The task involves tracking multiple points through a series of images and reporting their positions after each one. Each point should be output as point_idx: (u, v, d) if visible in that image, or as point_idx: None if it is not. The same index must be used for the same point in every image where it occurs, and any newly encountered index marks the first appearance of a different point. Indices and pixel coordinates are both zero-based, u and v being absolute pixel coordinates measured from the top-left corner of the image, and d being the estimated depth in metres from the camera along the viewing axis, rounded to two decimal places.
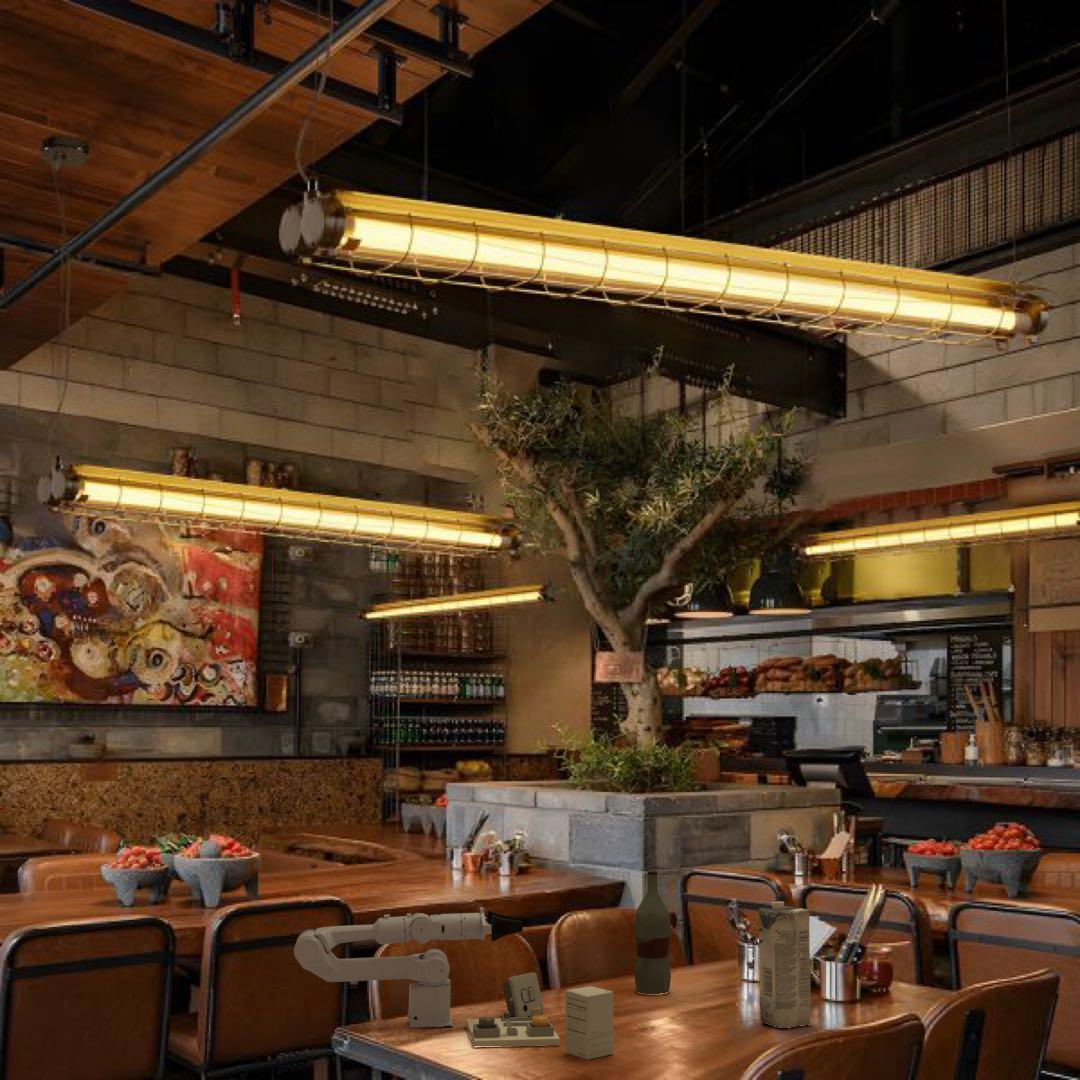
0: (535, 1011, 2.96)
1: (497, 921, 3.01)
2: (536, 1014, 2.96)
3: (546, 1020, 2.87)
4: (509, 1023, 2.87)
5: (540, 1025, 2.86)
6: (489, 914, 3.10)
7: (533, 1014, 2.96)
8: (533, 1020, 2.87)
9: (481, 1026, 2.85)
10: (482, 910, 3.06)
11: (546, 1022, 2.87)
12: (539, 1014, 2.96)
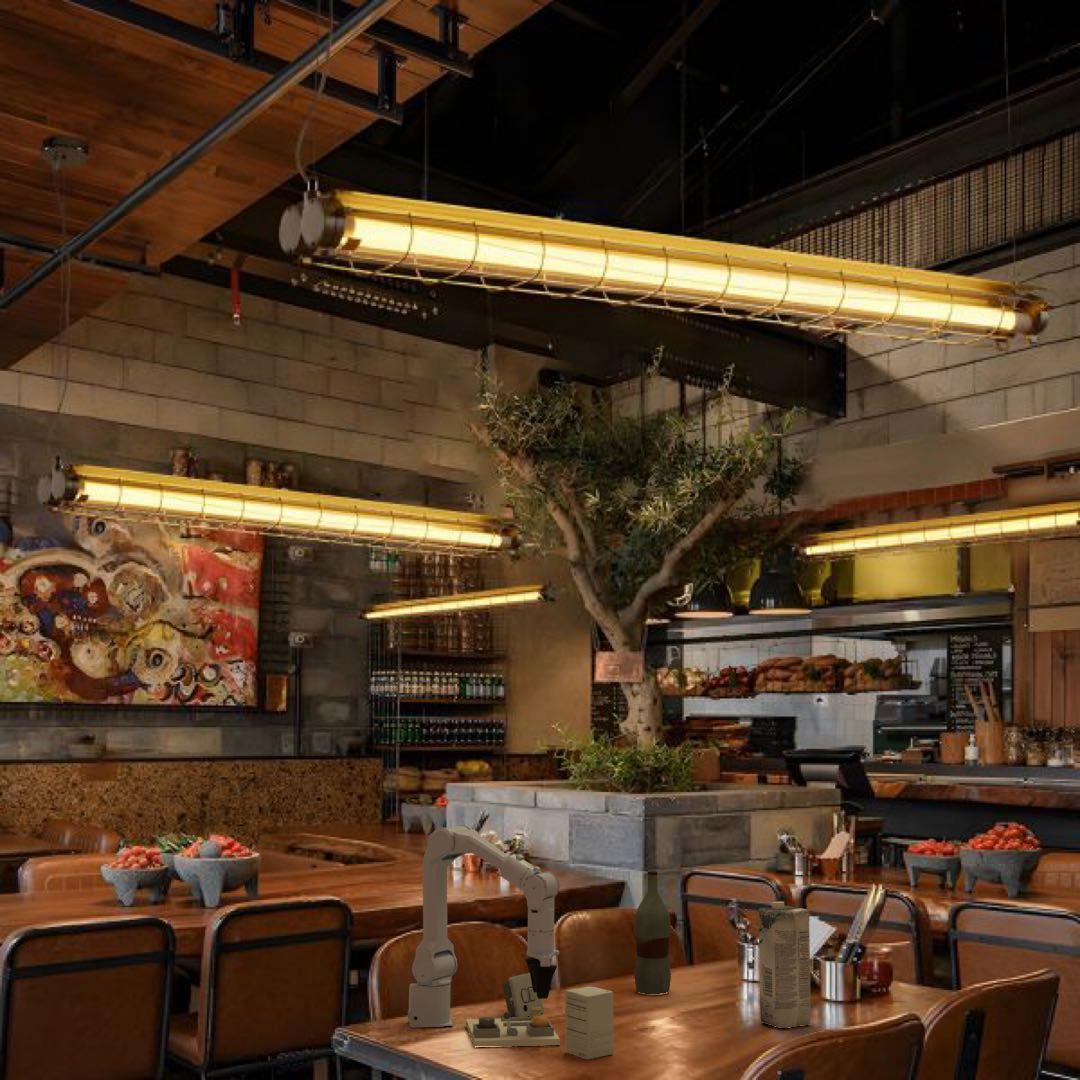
0: (535, 1011, 2.96)
1: (551, 971, 2.85)
2: (536, 1014, 2.96)
3: (546, 1020, 2.87)
4: (509, 1023, 2.87)
5: (540, 1025, 2.86)
6: None
7: (533, 1014, 2.96)
8: (533, 1020, 2.87)
9: (481, 1026, 2.85)
10: (557, 953, 2.89)
11: (546, 1022, 2.87)
12: (539, 1014, 2.96)
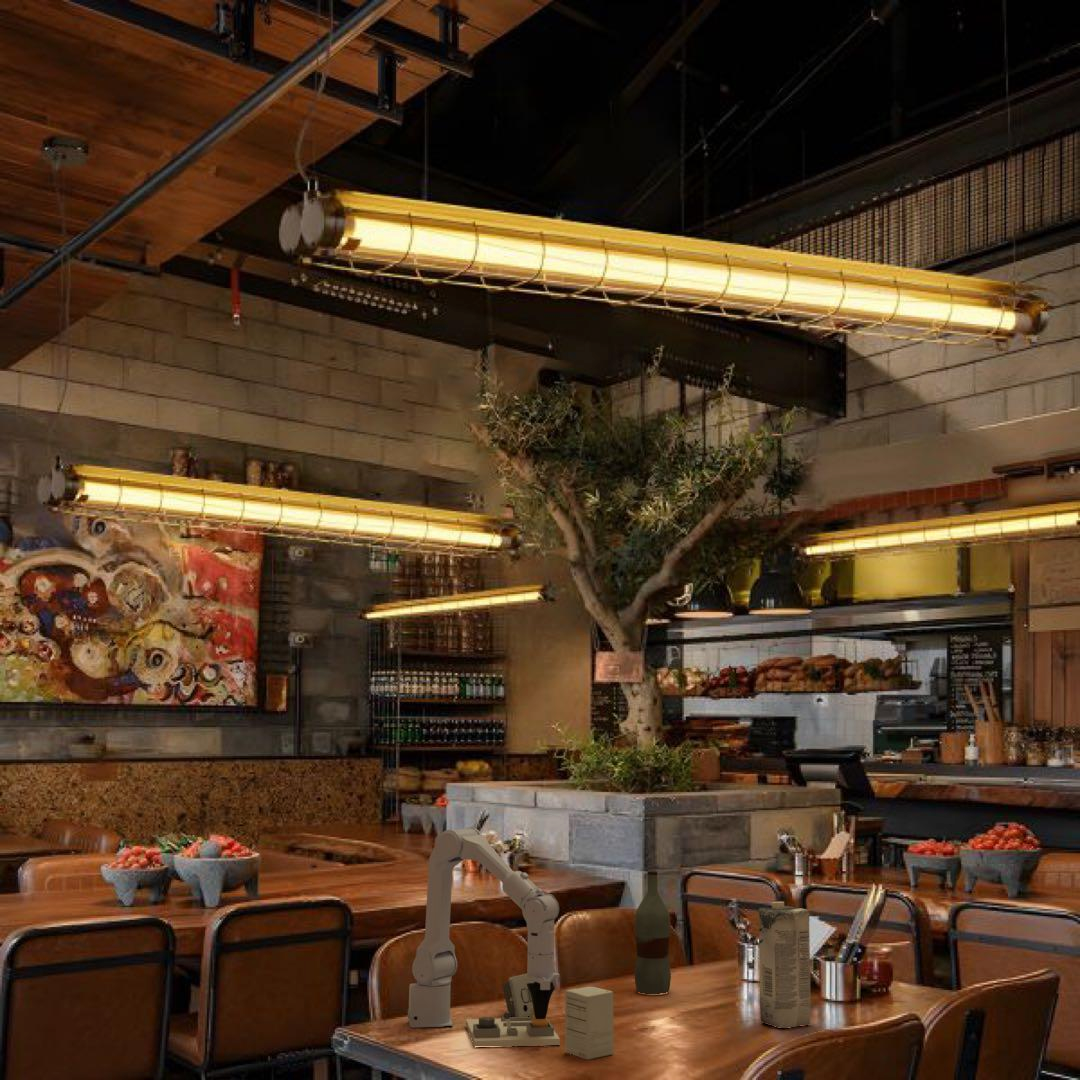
0: None
1: (549, 992, 2.87)
2: None
3: (546, 1021, 2.87)
4: (509, 1023, 2.87)
5: (540, 1026, 2.86)
6: (549, 985, 2.89)
7: (533, 1014, 2.96)
8: (533, 1021, 2.87)
9: (481, 1026, 2.85)
10: (557, 976, 2.89)
11: (546, 1023, 2.87)
12: None
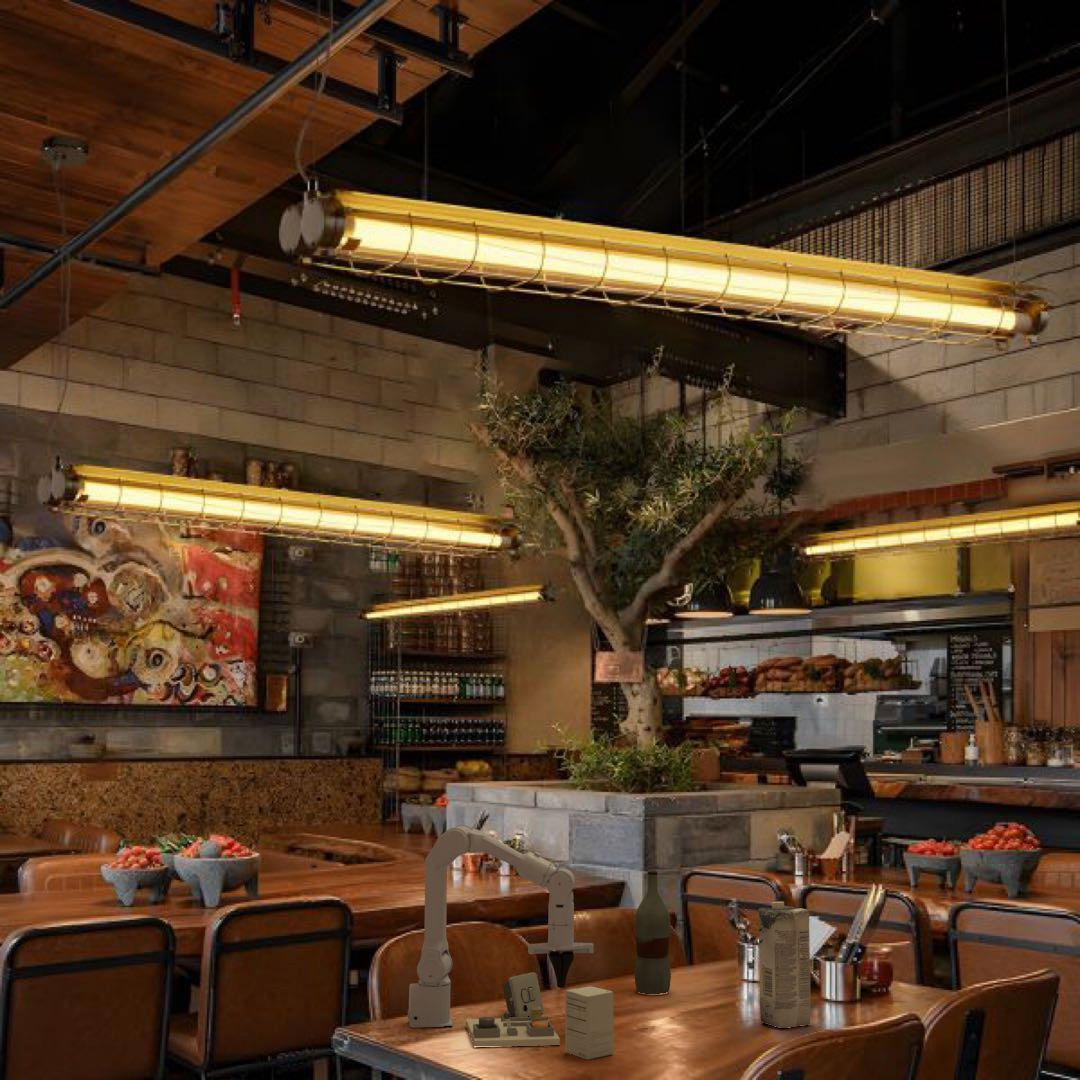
0: (535, 1011, 2.96)
1: (552, 961, 2.98)
2: (536, 1014, 2.96)
3: (546, 1025, 2.87)
4: (509, 1023, 2.87)
5: None
6: (563, 956, 2.98)
7: (533, 1014, 2.96)
8: (533, 1025, 2.87)
9: (481, 1026, 2.85)
10: (558, 948, 2.97)
11: None
12: (539, 1014, 2.96)
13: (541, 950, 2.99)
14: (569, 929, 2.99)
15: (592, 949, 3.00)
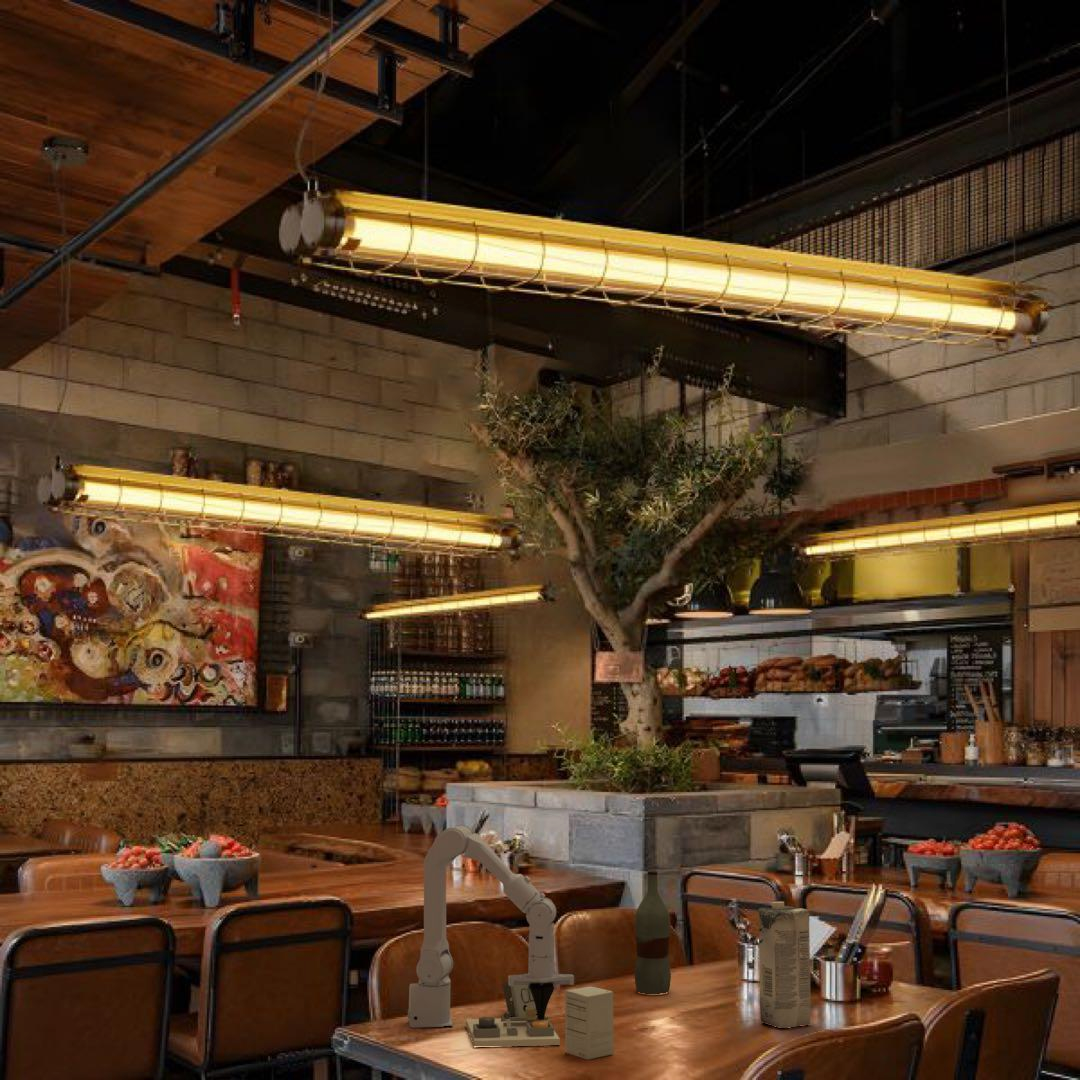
0: (530, 1011, 2.96)
1: (532, 993, 2.97)
2: (531, 1014, 2.96)
3: (546, 1025, 2.87)
4: (509, 1023, 2.87)
5: None
6: (543, 988, 2.97)
7: (528, 1014, 2.96)
8: (533, 1025, 2.87)
9: (481, 1026, 2.85)
10: (538, 980, 2.95)
11: None
12: (534, 1014, 2.96)
13: (521, 982, 2.98)
14: (549, 961, 2.97)
15: (572, 981, 2.99)
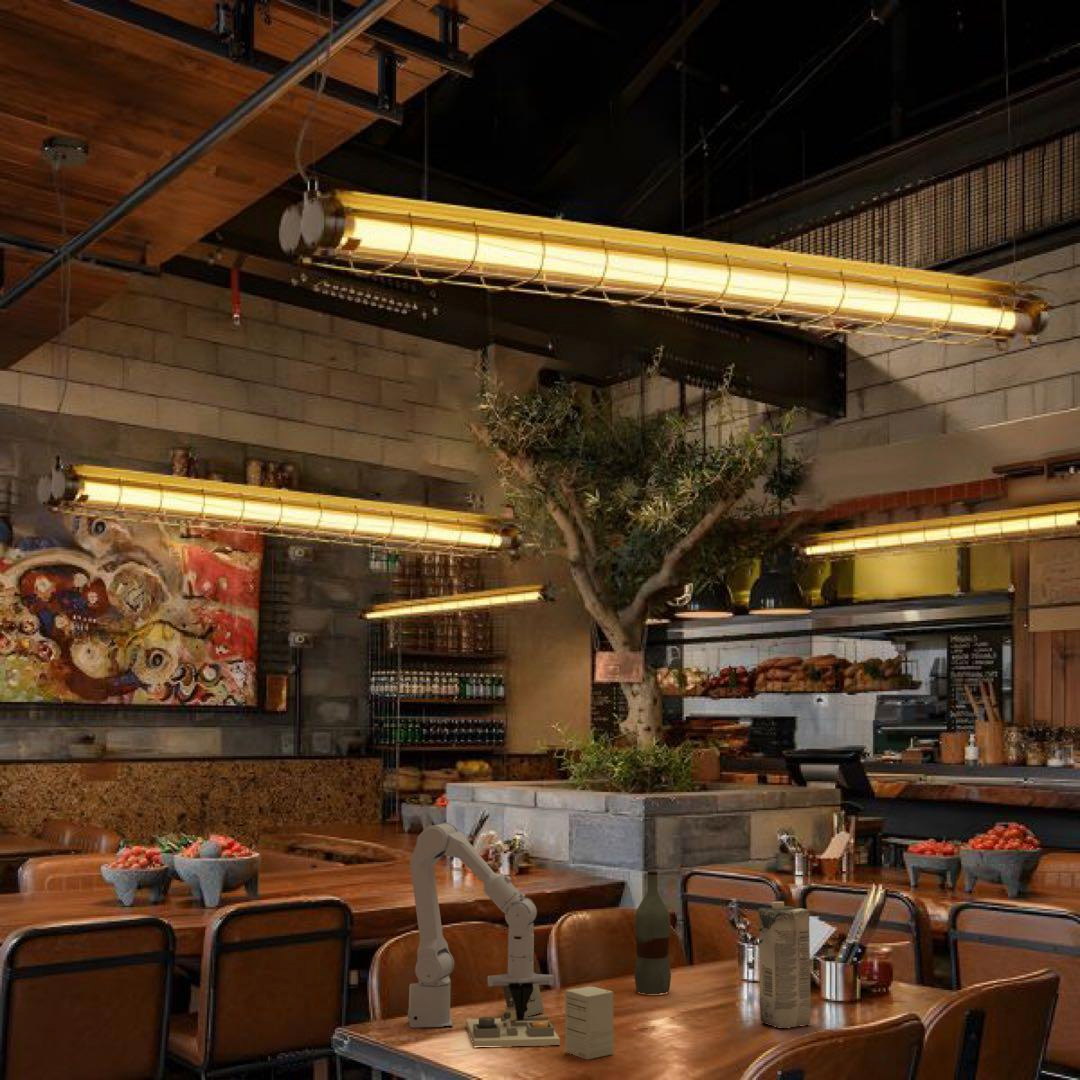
0: None
1: (511, 993, 2.96)
2: None
3: (546, 1025, 2.87)
4: (509, 1023, 2.87)
5: None
6: (522, 988, 2.96)
7: None
8: (533, 1025, 2.87)
9: (481, 1026, 2.85)
10: (518, 981, 2.95)
11: None
12: (513, 1015, 2.96)
13: (500, 982, 2.97)
14: (529, 961, 2.97)
15: (552, 981, 2.98)
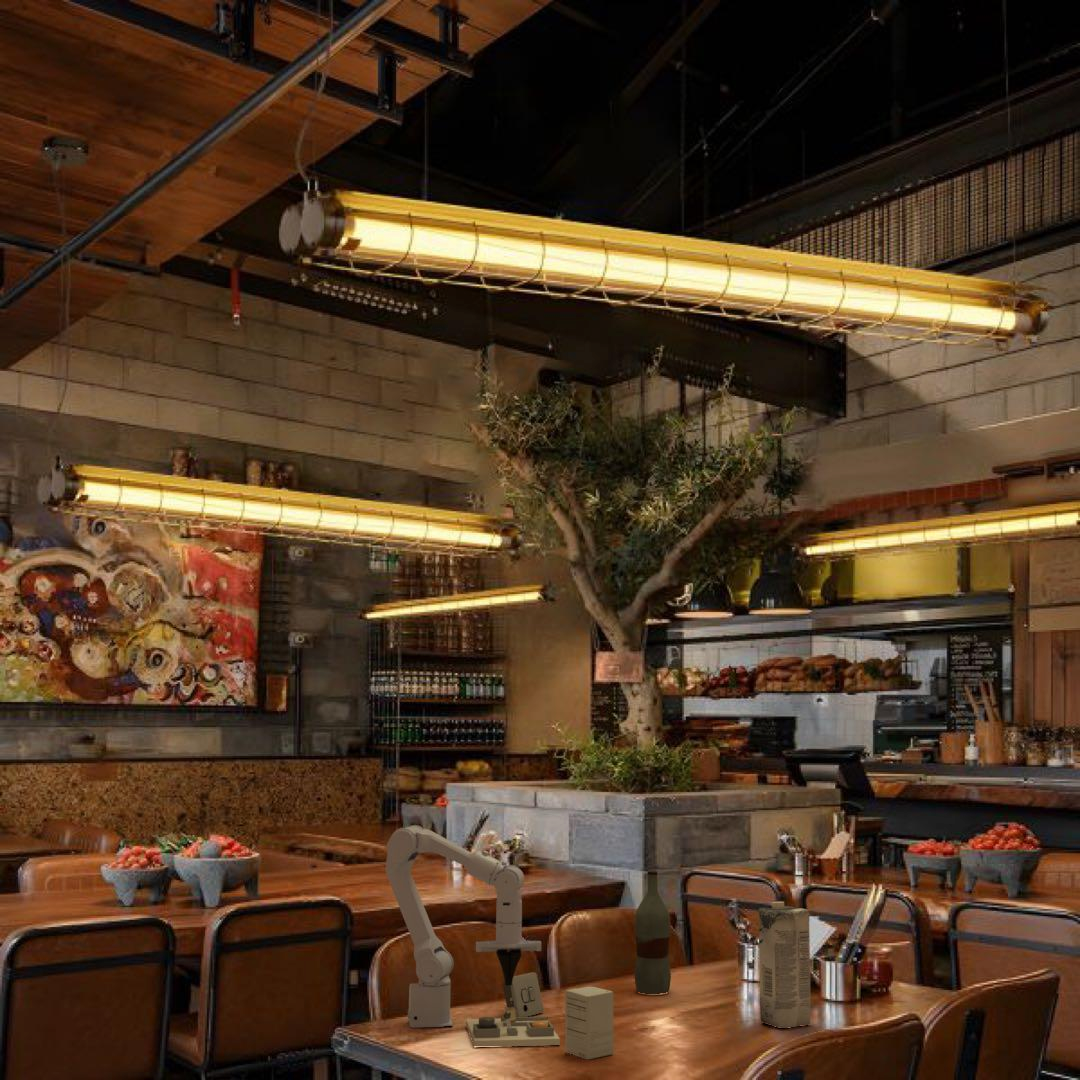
0: None
1: (499, 959, 2.99)
2: None
3: (546, 1025, 2.87)
4: (509, 1023, 2.87)
5: None
6: (510, 954, 2.99)
7: None
8: (533, 1025, 2.87)
9: (481, 1026, 2.85)
10: (506, 946, 2.97)
11: None
12: (513, 1015, 2.96)
13: (489, 948, 3.00)
14: (517, 927, 2.99)
15: (540, 947, 3.01)
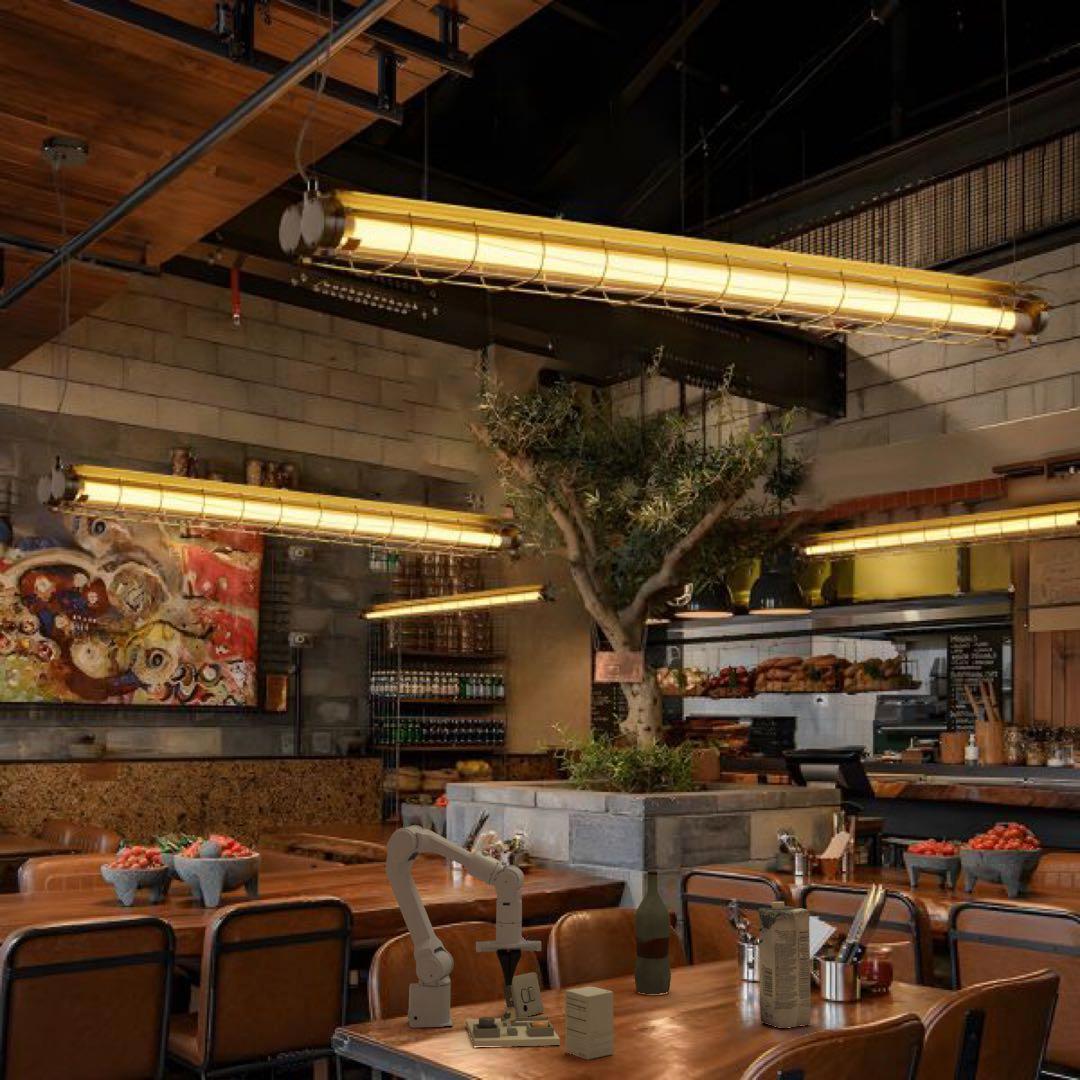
0: None
1: (499, 959, 2.99)
2: None
3: (546, 1025, 2.87)
4: (509, 1023, 2.87)
5: None
6: (510, 954, 2.99)
7: None
8: (533, 1025, 2.87)
9: (481, 1026, 2.85)
10: (506, 946, 2.97)
11: None
12: (513, 1015, 2.96)
13: (489, 948, 3.00)
14: (517, 927, 2.99)
15: (540, 947, 3.01)
